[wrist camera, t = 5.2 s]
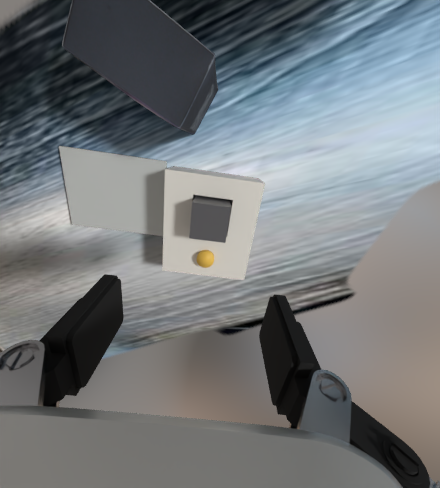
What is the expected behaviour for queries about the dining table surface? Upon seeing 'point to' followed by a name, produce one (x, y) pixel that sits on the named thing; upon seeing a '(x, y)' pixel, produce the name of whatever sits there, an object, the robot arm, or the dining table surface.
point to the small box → (144, 57)
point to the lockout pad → (114, 190)
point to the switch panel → (201, 251)
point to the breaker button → (209, 218)
